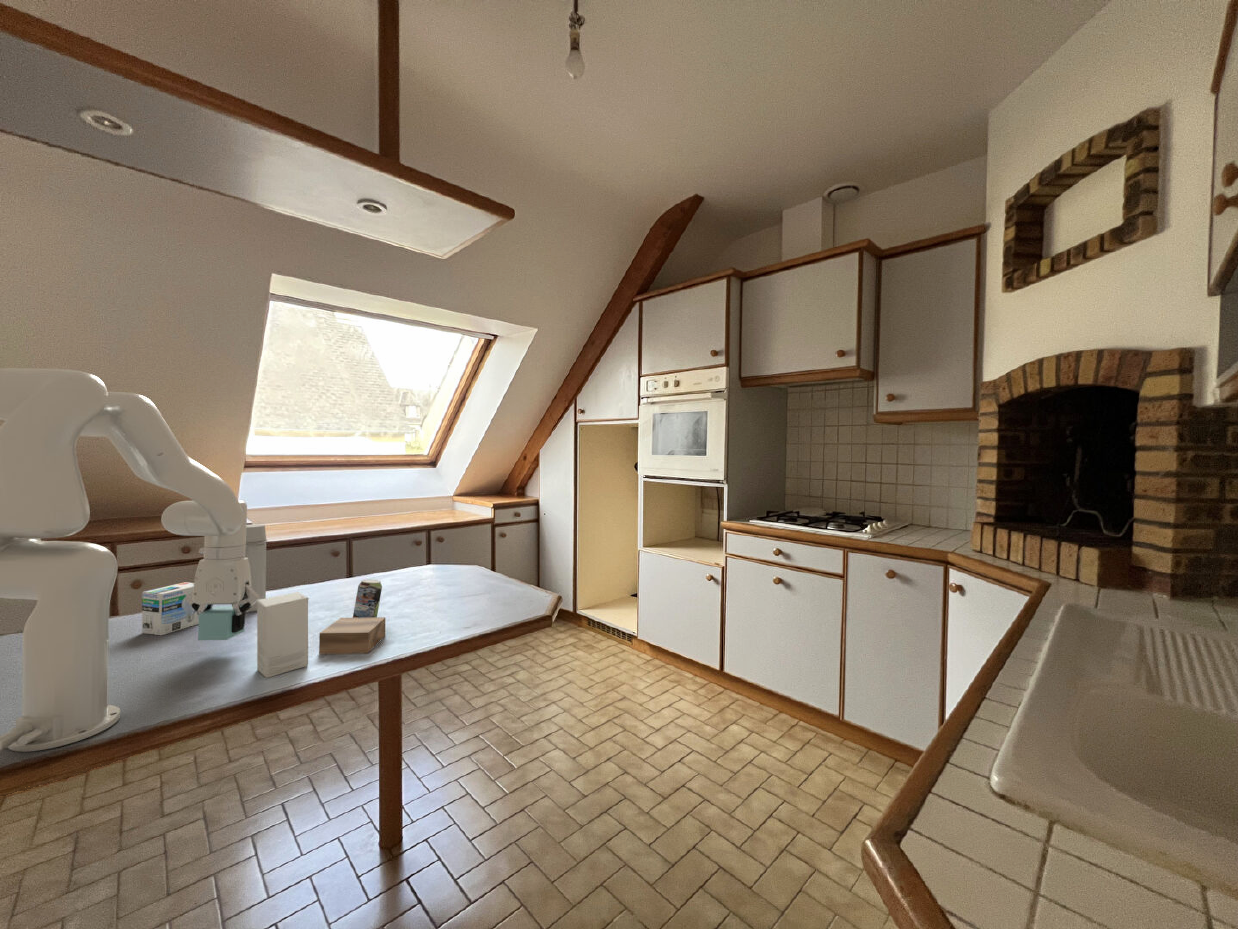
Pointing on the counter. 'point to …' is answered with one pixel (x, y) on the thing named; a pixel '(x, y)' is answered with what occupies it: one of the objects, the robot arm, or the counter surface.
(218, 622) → the teal cube
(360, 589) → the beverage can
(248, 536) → the water bottle
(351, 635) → the walnut block
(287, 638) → the skincare box
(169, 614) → the light bulb box
